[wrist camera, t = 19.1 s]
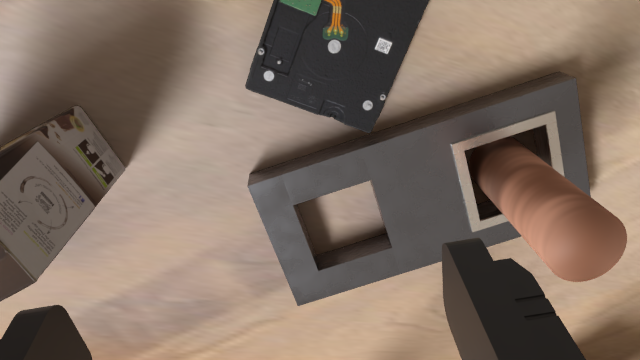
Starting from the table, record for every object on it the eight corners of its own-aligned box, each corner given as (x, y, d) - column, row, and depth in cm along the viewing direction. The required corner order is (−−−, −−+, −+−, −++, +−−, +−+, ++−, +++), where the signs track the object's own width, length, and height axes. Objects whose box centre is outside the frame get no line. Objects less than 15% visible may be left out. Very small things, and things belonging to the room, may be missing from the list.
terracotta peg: (474, 195, 44) (552, 291, 31) (463, 146, 42) (541, 225, 30) (529, 178, 44) (629, 268, 31) (520, 128, 42) (623, 200, 29)
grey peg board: (297, 289, 47) (298, 307, 44) (249, 174, 42) (247, 187, 40) (576, 201, 45) (594, 215, 43) (559, 71, 41) (577, 78, 38)
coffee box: (77, 100, 39) (-50, 183, 24) (128, 169, 41) (42, 283, 27) (-19, 155, 40) (-197, 267, 25) (36, 219, 43) (-96, 356, 28)
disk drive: (368, 124, 42) (447, -64, 37) (373, 135, 39) (459, -66, 34) (245, 82, 40) (311, -124, 35) (243, 90, 37) (313, -130, 32)
